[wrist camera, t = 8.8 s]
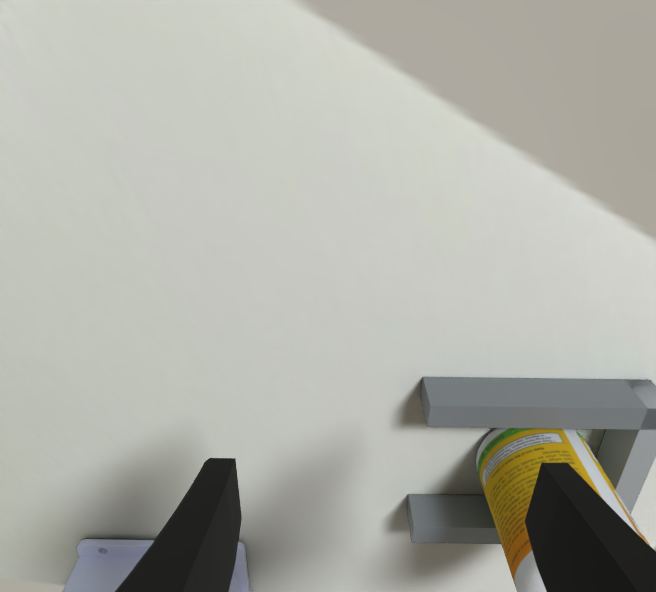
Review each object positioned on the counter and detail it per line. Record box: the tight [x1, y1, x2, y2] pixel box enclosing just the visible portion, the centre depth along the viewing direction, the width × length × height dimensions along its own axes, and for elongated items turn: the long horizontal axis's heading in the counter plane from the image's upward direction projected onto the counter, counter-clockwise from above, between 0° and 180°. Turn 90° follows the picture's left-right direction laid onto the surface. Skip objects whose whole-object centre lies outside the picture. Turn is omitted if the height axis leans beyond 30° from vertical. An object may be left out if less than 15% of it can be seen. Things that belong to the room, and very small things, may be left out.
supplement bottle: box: [476, 428, 650, 592], centre depth 21 cm, size 5×5×10 cm
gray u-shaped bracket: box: [407, 377, 656, 544], centre depth 24 cm, size 10×9×2 cm
